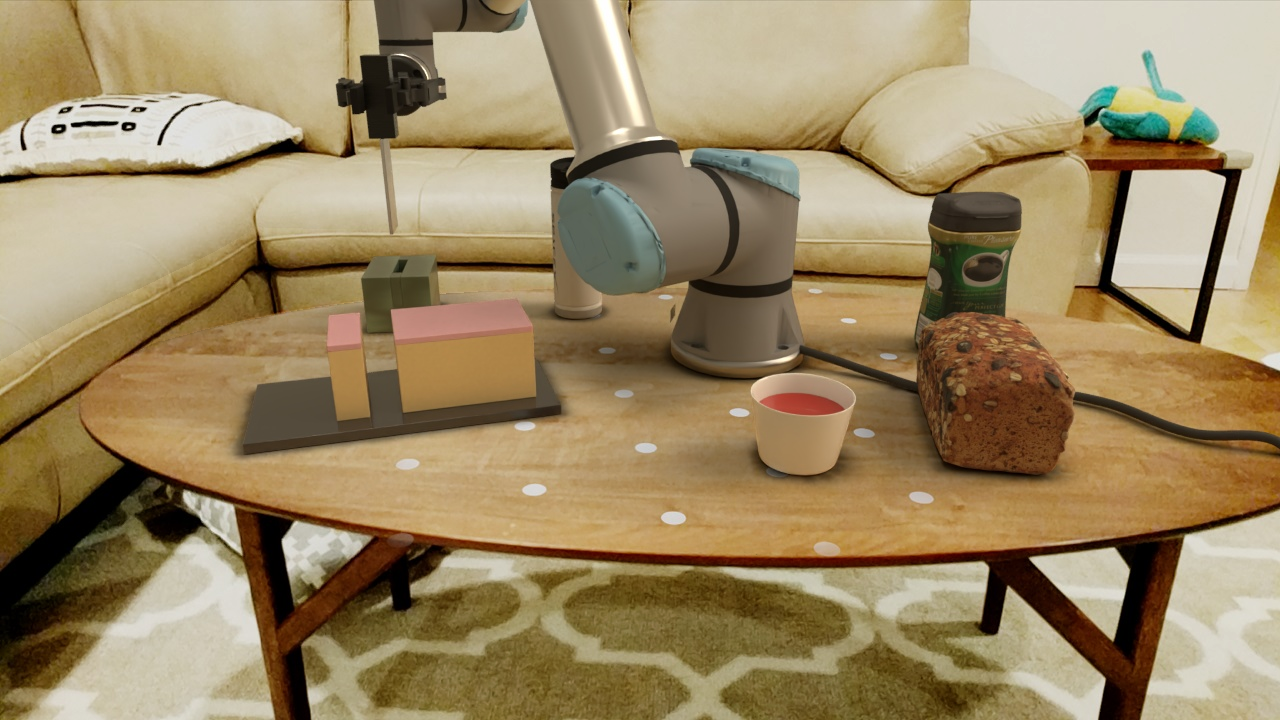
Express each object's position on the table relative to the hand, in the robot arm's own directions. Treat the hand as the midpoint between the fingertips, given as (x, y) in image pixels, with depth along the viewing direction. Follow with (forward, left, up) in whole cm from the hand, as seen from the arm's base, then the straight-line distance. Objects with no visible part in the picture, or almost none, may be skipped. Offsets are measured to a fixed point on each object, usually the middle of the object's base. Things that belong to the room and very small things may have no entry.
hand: (372, 101), depth 94 cm
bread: (-63, +20, -28) cm, 71 cm away
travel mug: (-20, -12, -28) cm, 37 cm away
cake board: (-6, +17, -28) cm, 33 cm away
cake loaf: (-12, +15, -27) cm, 33 cm away
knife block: (+2, -8, -28) cm, 29 cm away
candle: (-44, +27, -28) cm, 59 cm away
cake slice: (-2, +19, -27) cm, 33 cm away
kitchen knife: (+1, -5, -16) cm, 16 cm away
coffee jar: (-66, -1, -28) cm, 72 cm away
